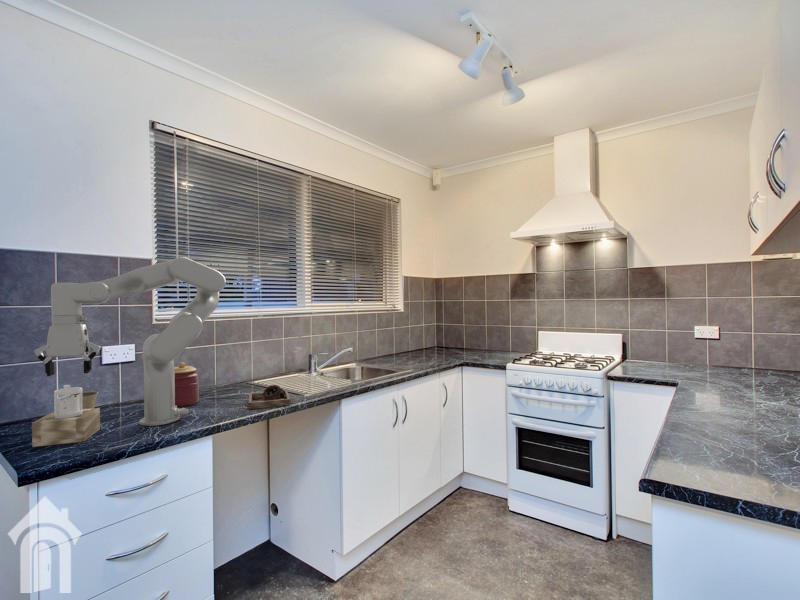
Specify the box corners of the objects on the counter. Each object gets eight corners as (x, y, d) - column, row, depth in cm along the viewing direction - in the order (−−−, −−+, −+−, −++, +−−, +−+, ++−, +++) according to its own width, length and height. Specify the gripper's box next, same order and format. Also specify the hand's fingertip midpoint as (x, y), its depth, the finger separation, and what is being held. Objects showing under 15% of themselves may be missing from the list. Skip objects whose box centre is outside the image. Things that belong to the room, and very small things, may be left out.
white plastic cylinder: (79, 427, 134) (79, 382, 134) (85, 431, 129) (85, 385, 129) (52, 433, 128) (51, 386, 129) (57, 437, 124) (56, 389, 124)
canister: (176, 408, 162) (175, 365, 162) (158, 405, 168) (157, 363, 168) (205, 401, 173) (205, 360, 173) (187, 398, 180) (187, 359, 180)
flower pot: (69, 422, 145) (69, 398, 145) (64, 417, 151) (64, 394, 151) (101, 416, 152) (100, 394, 152) (95, 412, 158) (95, 390, 158)
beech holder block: (99, 428, 137) (99, 407, 137) (84, 441, 125) (84, 418, 125) (53, 433, 133) (53, 411, 133) (32, 446, 121) (32, 422, 121)
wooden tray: (287, 395, 182) (287, 390, 182) (290, 405, 165) (290, 399, 165) (249, 398, 177) (249, 393, 177) (248, 409, 160) (248, 402, 160)
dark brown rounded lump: (291, 402, 172) (285, 388, 168) (272, 415, 167) (265, 401, 163) (278, 391, 180) (272, 377, 176) (259, 403, 175) (253, 389, 171)
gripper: (103, 319, 135) (105, 369, 136) (40, 321, 130) (41, 374, 130) (94, 320, 128) (96, 373, 129) (27, 322, 123) (29, 378, 123)
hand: (69, 373), depth 129 cm, fingers open, 9 cm apart
